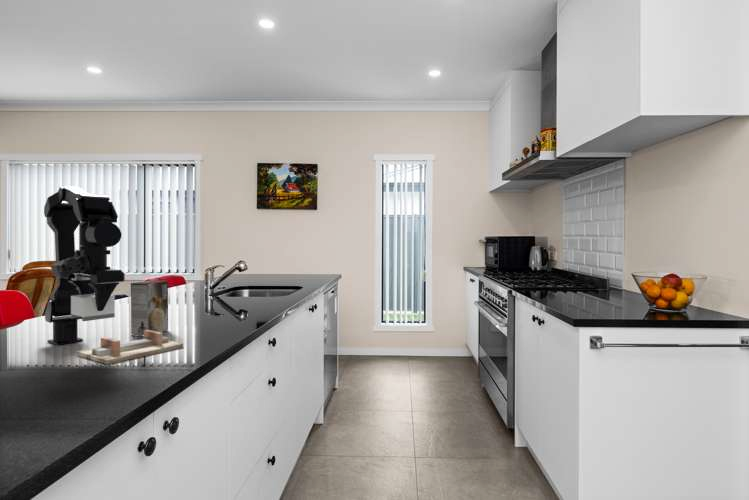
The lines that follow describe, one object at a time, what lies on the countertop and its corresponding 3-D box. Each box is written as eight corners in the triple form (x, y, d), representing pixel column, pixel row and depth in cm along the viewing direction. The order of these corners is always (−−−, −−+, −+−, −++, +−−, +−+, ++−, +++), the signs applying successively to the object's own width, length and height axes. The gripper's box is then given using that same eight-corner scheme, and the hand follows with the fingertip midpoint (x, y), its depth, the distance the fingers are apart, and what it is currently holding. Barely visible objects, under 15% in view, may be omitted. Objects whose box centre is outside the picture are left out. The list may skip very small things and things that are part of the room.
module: (70, 318, 108) (70, 295, 107) (101, 314, 113) (101, 292, 113) (83, 321, 104) (83, 298, 104) (114, 317, 110) (114, 295, 110)
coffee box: (151, 329, 142) (151, 280, 142) (168, 330, 141) (168, 280, 141) (130, 335, 133) (130, 282, 133) (148, 336, 132) (148, 283, 132)
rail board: (77, 355, 111) (77, 338, 111) (153, 340, 128) (153, 326, 128) (106, 364, 103) (106, 346, 103) (183, 347, 120) (183, 332, 120)
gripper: (38, 245, 107) (38, 309, 107) (73, 247, 96) (73, 318, 97) (89, 245, 116) (89, 304, 116) (125, 246, 106) (125, 311, 106)
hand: (93, 309), depth 109 cm, fingers closed on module, 7 cm apart
